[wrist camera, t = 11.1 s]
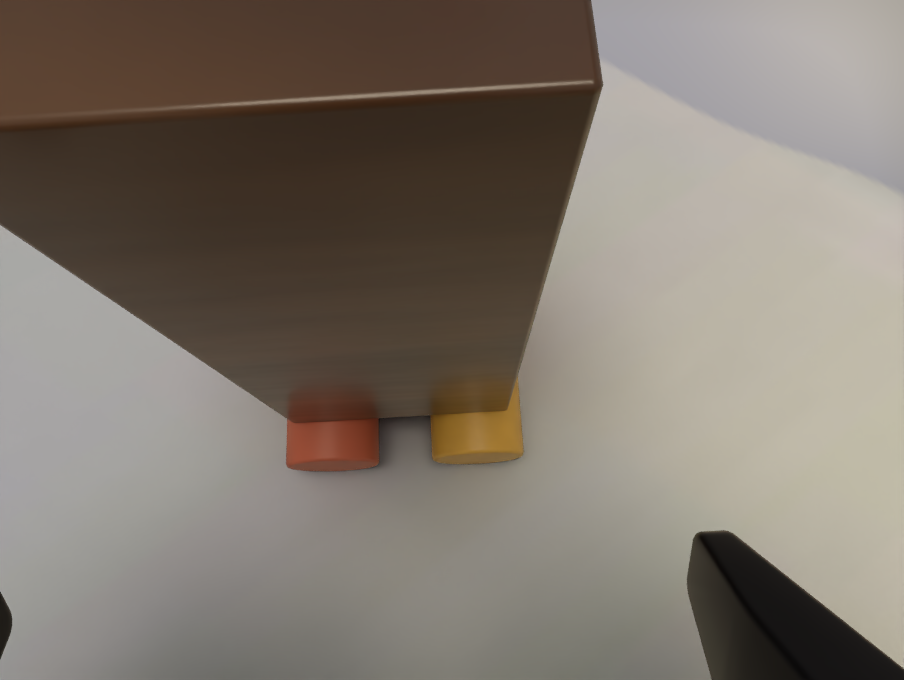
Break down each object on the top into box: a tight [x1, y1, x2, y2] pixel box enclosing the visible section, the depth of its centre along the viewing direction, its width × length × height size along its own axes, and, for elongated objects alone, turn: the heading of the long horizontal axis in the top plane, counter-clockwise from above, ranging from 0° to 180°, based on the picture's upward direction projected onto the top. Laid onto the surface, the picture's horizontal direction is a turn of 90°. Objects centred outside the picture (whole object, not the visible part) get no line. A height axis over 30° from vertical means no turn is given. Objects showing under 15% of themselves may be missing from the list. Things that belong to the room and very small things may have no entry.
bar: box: [0, 0, 603, 423], centre depth 11 cm, size 4×5×12 cm
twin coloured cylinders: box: [286, 376, 524, 471], centre depth 18 cm, size 6×6×2 cm
